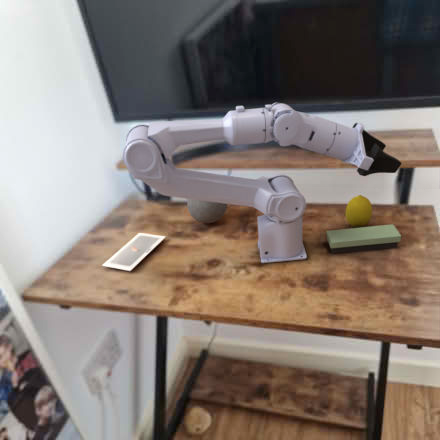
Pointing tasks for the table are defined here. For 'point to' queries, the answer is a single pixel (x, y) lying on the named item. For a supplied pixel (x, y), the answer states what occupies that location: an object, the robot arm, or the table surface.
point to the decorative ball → (206, 210)
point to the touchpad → (134, 251)
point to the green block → (363, 238)
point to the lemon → (358, 211)
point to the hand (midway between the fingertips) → (390, 158)
